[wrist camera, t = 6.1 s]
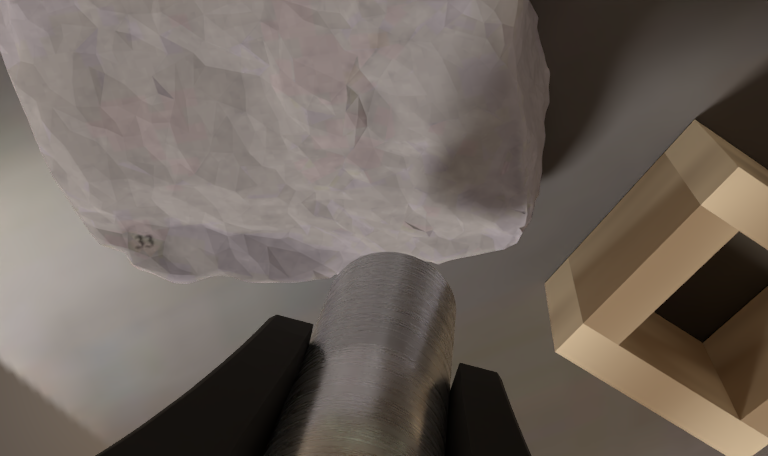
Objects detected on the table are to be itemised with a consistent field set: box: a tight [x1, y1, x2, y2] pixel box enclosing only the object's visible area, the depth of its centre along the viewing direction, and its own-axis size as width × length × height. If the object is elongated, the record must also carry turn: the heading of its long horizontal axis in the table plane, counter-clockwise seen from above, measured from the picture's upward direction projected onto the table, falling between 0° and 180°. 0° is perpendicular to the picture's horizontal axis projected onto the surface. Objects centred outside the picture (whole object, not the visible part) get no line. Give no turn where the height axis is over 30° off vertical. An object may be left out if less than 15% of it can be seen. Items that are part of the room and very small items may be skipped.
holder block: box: [545, 120, 768, 456], centre depth 16 cm, size 6×6×3 cm
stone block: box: [0, 0, 550, 283], centre depth 15 cm, size 12×5×10 cm
